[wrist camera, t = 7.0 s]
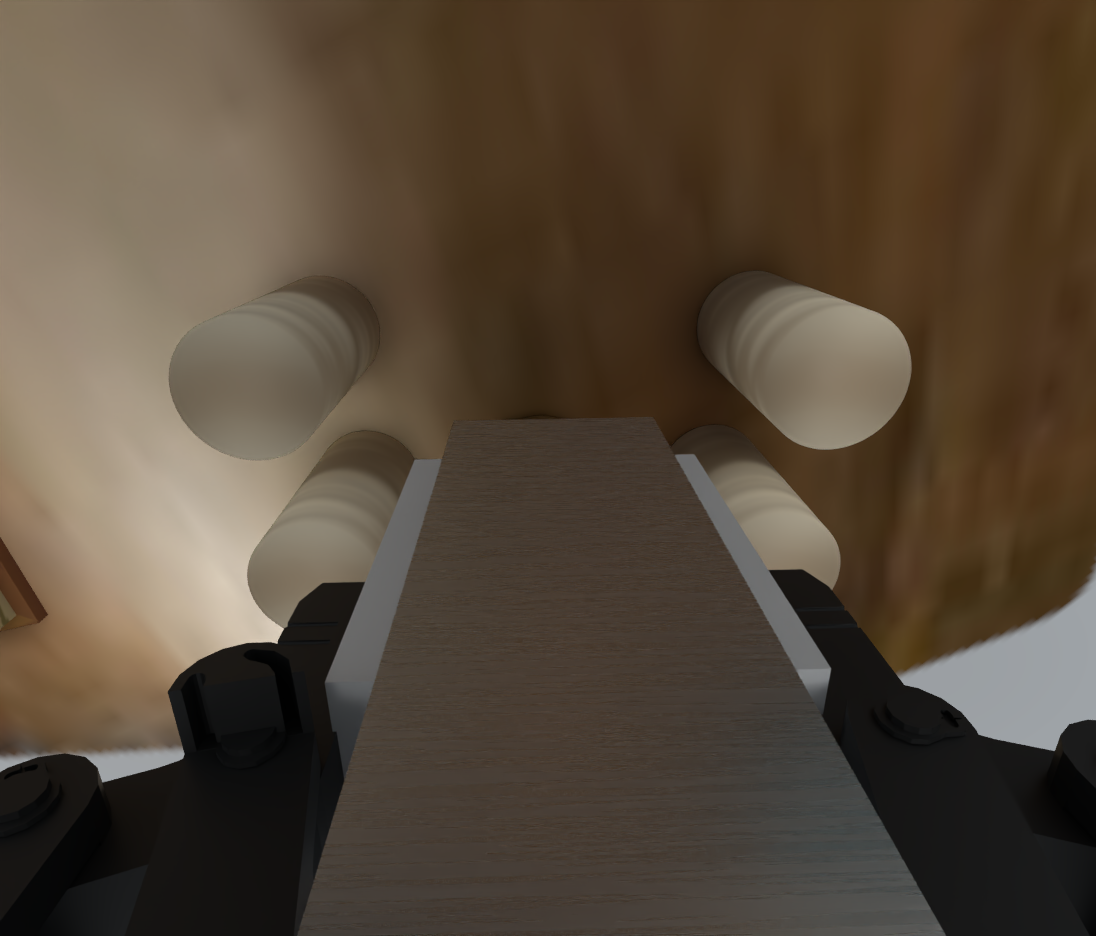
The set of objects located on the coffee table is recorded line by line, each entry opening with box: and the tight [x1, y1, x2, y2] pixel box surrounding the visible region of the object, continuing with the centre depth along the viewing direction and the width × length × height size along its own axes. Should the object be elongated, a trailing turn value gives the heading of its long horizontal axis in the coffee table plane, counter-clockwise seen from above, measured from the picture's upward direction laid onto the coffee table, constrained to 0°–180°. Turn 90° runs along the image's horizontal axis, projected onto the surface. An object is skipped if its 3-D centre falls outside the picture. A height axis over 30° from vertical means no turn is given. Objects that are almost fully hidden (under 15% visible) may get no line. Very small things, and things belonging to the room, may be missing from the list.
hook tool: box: [297, 417, 946, 936], centre depth 11 cm, size 13×4×12 cm, turn 0°
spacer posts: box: [169, 271, 911, 628], centre depth 24 cm, size 14×20×8 cm
